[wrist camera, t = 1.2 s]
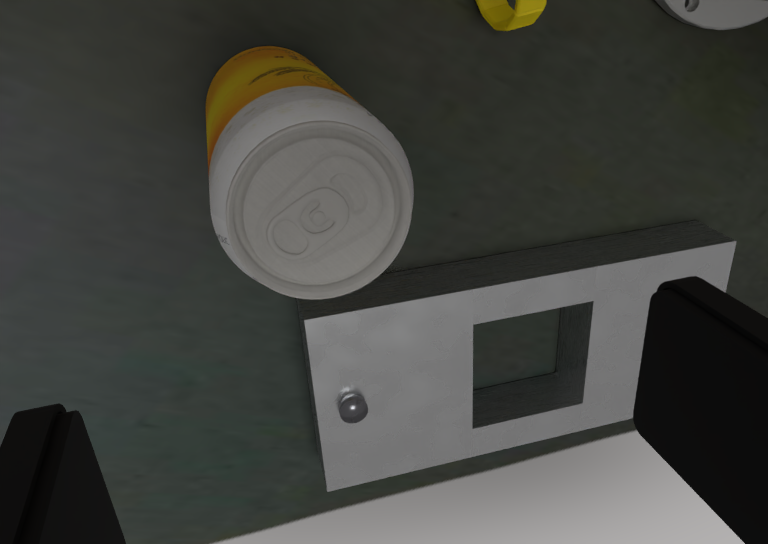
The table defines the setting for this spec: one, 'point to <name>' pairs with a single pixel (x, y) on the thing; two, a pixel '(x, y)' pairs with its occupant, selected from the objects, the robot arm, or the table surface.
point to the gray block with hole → (455, 349)
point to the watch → (510, 13)
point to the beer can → (302, 177)
